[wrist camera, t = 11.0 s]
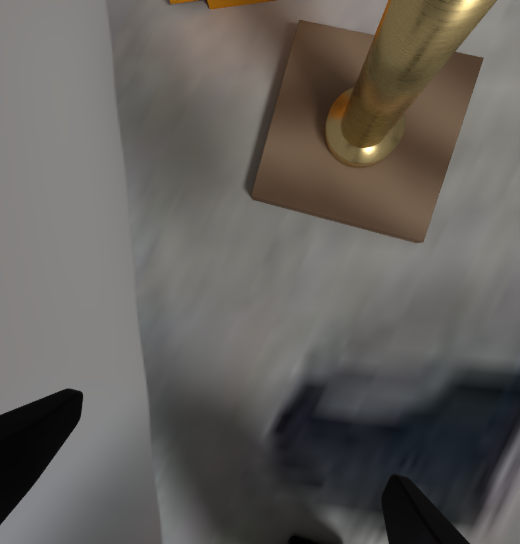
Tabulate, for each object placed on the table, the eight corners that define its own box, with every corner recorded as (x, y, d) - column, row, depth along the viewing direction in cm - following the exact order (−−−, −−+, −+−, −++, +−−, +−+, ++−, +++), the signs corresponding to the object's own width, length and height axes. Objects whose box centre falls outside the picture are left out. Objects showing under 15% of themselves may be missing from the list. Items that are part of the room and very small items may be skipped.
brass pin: (412, 143, 17) (626, -53, 6) (345, 181, 18) (440, 60, 7) (376, 79, 17) (529, -225, 6) (311, 119, 18) (350, -98, 7)
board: (416, 243, 19) (423, 242, 18) (252, 199, 20) (250, 196, 19) (472, 69, 18) (483, 57, 17) (298, 32, 19) (299, 19, 18)
